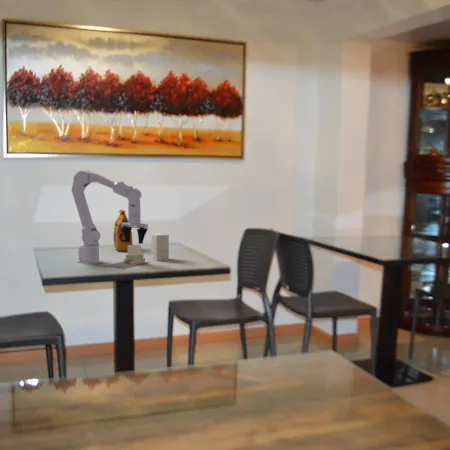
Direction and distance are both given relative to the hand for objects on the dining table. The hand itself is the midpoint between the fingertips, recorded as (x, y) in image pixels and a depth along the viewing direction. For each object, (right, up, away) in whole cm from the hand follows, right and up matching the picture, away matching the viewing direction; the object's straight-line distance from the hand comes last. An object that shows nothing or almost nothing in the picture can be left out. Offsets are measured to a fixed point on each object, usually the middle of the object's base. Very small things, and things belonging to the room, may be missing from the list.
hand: (134, 242), depth 278 cm
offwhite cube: (0, -6, 0) cm, 6 cm away
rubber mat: (-3, -10, -3) cm, 11 cm away
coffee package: (-13, -6, +43) cm, 45 cm away
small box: (+11, -9, +12) cm, 19 cm away
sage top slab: (0, -8, +1) cm, 8 cm away
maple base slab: (0, -10, +1) cm, 10 cm away
